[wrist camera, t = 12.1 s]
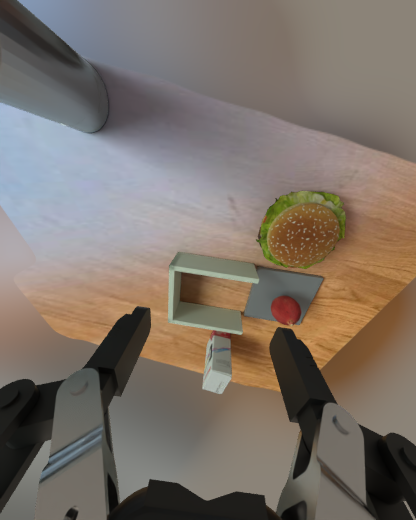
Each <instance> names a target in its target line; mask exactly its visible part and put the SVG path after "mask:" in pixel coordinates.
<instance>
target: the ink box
mask: <svg viewBox="0 0 416 520" xmlns="http://www.w3.org/2000/svg"><path fill="white" fill-rule="evenodd" d="M231 376H232V368H231V338H230V333H227V332H222V331H216V330H213V332H212V334H211V337H210V339H209V342H208V344H207V350H206V360H205V370H204V379H203V389H205V390H208V391H212V392H215V393H218V394H222V392H223V391H224V389H225V387H226V386H227V384H228V383H229V381H230V380H231Z"/></svg>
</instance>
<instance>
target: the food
mask: <svg viewBox="0 0 416 520" xmlns="http://www.w3.org/2000/svg"><path fill="white" fill-rule="evenodd" d="M343 205H344V203H343V202H341V201H340V199H339V197H338V196H337V195H334V194H329V193H325V192H309V191H300V192H296V193H294V192H291V193H289V194H288V195H286V196H285V195H283V196H280V197H279V199H278V200H277V199H276V202H275V203H274V204H273V205H272V206H270V207H269V209H268V210H267V213H266V216H265V217H264V219H263V221H262V224H261V227H260V231H259V234H258V238H259V240H256V241H257V242H259V243H260V246H261V247H262V249H263V254H264V257H265V258H266V259H267V260H269V261H270V262H272V263H274V264H276V265H281V266H284V267H286V268H287V267H289V268H295V267H298V268H303V269H307V268H309V267H310V266H312V265H314V264H316V263H318V262H321V261H323V260H324V258H325V257H326V255H327V254H329V253H330V251H332V250H334V248H335V244H336V242H337V241H339V240H340V239H341V238H344V234H345V220H346V216H345V212H344V211H343V209H342V206H343Z"/></svg>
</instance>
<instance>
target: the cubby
mask: <svg viewBox="0 0 416 520" xmlns="http://www.w3.org/2000/svg"><path fill="white" fill-rule="evenodd" d="M181 272H186V273H193V274H199V275H205V276H212V277H218V278H224V279H231V280H237V281H243V282H250V283H256V284H258V282H259V277H258V274H257V272H256V269H255V266H254V264H253V263H247V262H240V261H234V260H227V259H221V258H214V257H208V256H201V255H195V254H188V253H182V252H178V253H177V255H176V256H175V258H174V259H173V260H172V262H171V263H170V265H169V304H168V323H174V324H180V325H186V326H192V327H198V328H204V329H210V330H216V331H222V332H227V333H233V334H239V335H242V333H243V330H242V321H241V313H240V311H237V310H231V309H225V308H218V307H212V306H206V305H200V304H194V303H188V302H182V301H180V289H181Z"/></svg>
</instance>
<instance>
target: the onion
mask: <svg viewBox="0 0 416 520" xmlns="http://www.w3.org/2000/svg"><path fill="white" fill-rule="evenodd" d="M271 312H272V315H273V317H274V318H275V319H276V320H277V321H278V322H280V323H282V324H284V325H290V326H293V325H294V324H296V323H297V322H298V321H299V319H300V317H301V308H300V305H299V303H298V302H297V301H296V300H294V299H293V298H291V297H289V296H279V297H277V298H275V299H274V300H273V301H272V304H271Z"/></svg>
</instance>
